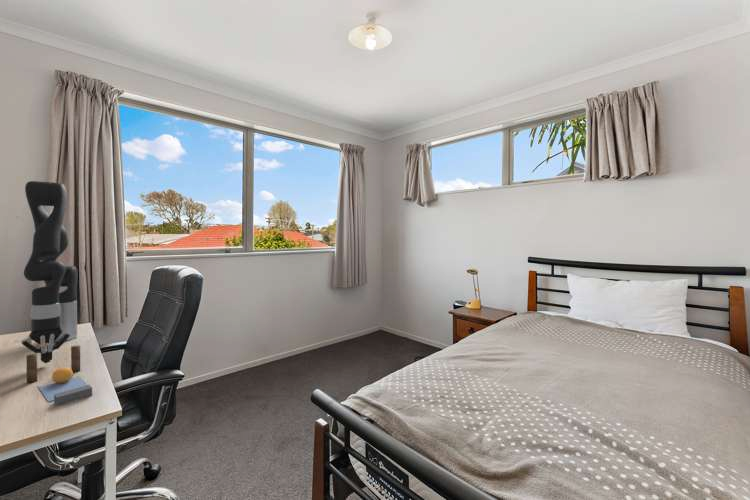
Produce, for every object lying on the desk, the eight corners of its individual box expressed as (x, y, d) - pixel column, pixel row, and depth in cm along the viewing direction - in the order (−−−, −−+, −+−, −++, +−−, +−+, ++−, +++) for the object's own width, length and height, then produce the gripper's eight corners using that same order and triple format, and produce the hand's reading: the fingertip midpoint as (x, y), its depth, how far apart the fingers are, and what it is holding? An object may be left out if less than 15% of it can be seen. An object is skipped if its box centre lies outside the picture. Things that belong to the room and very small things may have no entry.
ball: (53, 368, 105) (55, 384, 104) (74, 364, 109) (75, 379, 108) (49, 370, 107) (50, 385, 106) (69, 366, 112) (70, 380, 111)
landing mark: (38, 387, 104) (38, 387, 104) (79, 377, 112) (79, 376, 112) (48, 402, 96) (48, 401, 96) (91, 389, 104) (91, 389, 104)
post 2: (70, 371, 116) (70, 346, 116) (79, 369, 118) (79, 344, 118) (72, 373, 115) (72, 348, 114) (81, 370, 117) (81, 346, 116)
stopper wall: (54, 402, 96) (54, 394, 95) (89, 392, 102) (89, 384, 102) (56, 406, 94) (56, 397, 94) (92, 395, 100) (92, 387, 100)
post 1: (26, 381, 107) (25, 355, 107) (36, 379, 109) (36, 353, 109) (27, 383, 106) (27, 356, 105) (38, 381, 108) (37, 354, 107)
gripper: (67, 310, 126) (68, 354, 127) (17, 317, 115) (18, 364, 116) (73, 314, 122) (73, 359, 123) (21, 321, 111) (21, 370, 112)
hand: (46, 362), depth 119 cm, fingers closed
